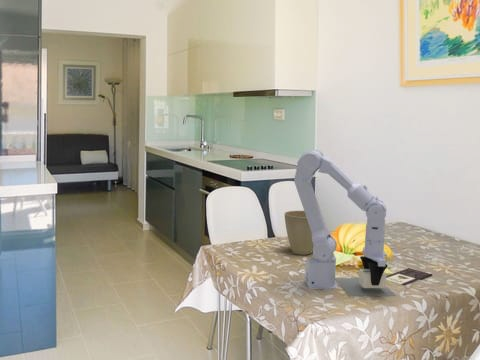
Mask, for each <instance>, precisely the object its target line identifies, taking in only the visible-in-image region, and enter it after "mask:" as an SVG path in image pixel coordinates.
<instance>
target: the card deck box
mask: <svg viewBox="0 0 480 360" xmlns="http://www.w3.org/2000/svg"><path fill="white" fill-rule="evenodd" d="M358 270H359V271H358V278H359V284H360V285H361V286H362V287H363V288H386V286H387V280H386V277H387V276H388V274H387V273H386V272H385V271H384V272H383V275H382V277H381V280H380V283H379V285H372V284H371V274H370V269H364V268H359V269H358Z"/></svg>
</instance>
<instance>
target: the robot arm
mask: <svg viewBox="0 0 480 360" xmlns="http://www.w3.org/2000/svg"><path fill="white" fill-rule="evenodd" d="M296 164H297V165H296V166H297V167H296V170H295V175H294V179H293V180H294V185H295V188H296V190H297V194H298V196H299V199H300V202H301V205H302V208H303V211H305V214H306V217H307V220H308V223H309V226H310V229H311V232H312V242H313V245H314V247H313V249H312V253H313V257H312V258H307V259H306V260H305V268H304V269H305V271H304V282H305V284H306V285H307V287H308V289H310V290H319V289H320V290H326V289H327V290H330V289H331V290H332V289H335V290H336V289H339V288H340V286H339V285H337V283H336V281H335V278H336V269H337V268H336V265H337V257H336V256H335V254H334V252H335V251H337V250H336V249H337V245H338V244H337V243H338V242H337V241H336V239H335V238H334V237H333V236H332V235H331V232H330V231H329V229H328V227H327V224H326V221H325V220H324V216H323V213H322V211H321V208H320V204H319V202H318V198H317V196H316V193H315V189H314V187H313V184H312V180H313V177H314V176H315V174H316V173H317V171H318V173H320V174H321V173H322V174H327V175H329V177H331V178H332V179H333V180H334V181H335V182H336V183H337V184H339V185H340V186H341V187H343V188H344V189H345V191H347V198H349V199H350V200H351V202H353V203H354V204H355V205H356V206H357V207H358V208H359V209H360V210H361V211H364V212H365V216H366V218H367V220H366V224H365V236H364V238H365V239H364V247H362V254H363V255H362V256H361V255H360V256H359V258H360V261H361V262H362V265H363V269H370V274H371V284H372V285H379V283H380V280H381V277H382V275H383V272H385V271H386V269H387V268H388V264H387V263H386V261H387V260H386V259H385V257H388V253H386V252H384V249H385V234H386V225H385V224H386V219H385V218H386V216H387V206H386V205H385V203H384V202H383V201H382V200H380V199H379V197H378V196H377V195H376V196H374V194H373V193H371V192H370V190H368V188H369V187H368V186H367V185H366V184H362V183H361V182H360V183H357V182H356V183H355V182H354V181H353V180H352V179H351V178H350V177H349V176H348V175H347V174H346V173H345V171H343V170H342V169H341V168H340V167H339V166H338V165H337V164H336V163H335V162H334V161H333V160H332V159H331V158H329V157H328V156H327V155H324V153H323V152H322V151H321V150H318V149H311V150H308V151H306V152H304V153H302V154H301V156H300V157H299V159H298V160H297V163H296Z"/></svg>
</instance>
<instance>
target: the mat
mask: <svg viewBox="0 0 480 360" xmlns="http://www.w3.org/2000/svg"><path fill="white" fill-rule="evenodd" d="M335 283H336V284H338V286H339V288H341V289H342V290H343V292H345V294H346V296H348V297H349V298H350V297H397V294H396V293H394V291H392V290H391V289H390V288H389V287H388V286H387V285H386V288H363V287H362V286H361V285H360V284H359V277H335Z"/></svg>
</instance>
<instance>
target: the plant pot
mask: <svg viewBox="0 0 480 360" xmlns="http://www.w3.org/2000/svg"><path fill="white" fill-rule="evenodd" d="M283 214H284V221H285V230H286V234H287V239H288V243H289V246H290V249H291V252H292V253H293V254H295V255H298V256H299V255H301V256H307V255H310V254H312V252H313V247H314V245H313V242H312V232H311V229H310V226H309V223H308V220H307V217H306V214H305V211H304V210H289V211H285V212H284V213H283Z"/></svg>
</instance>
